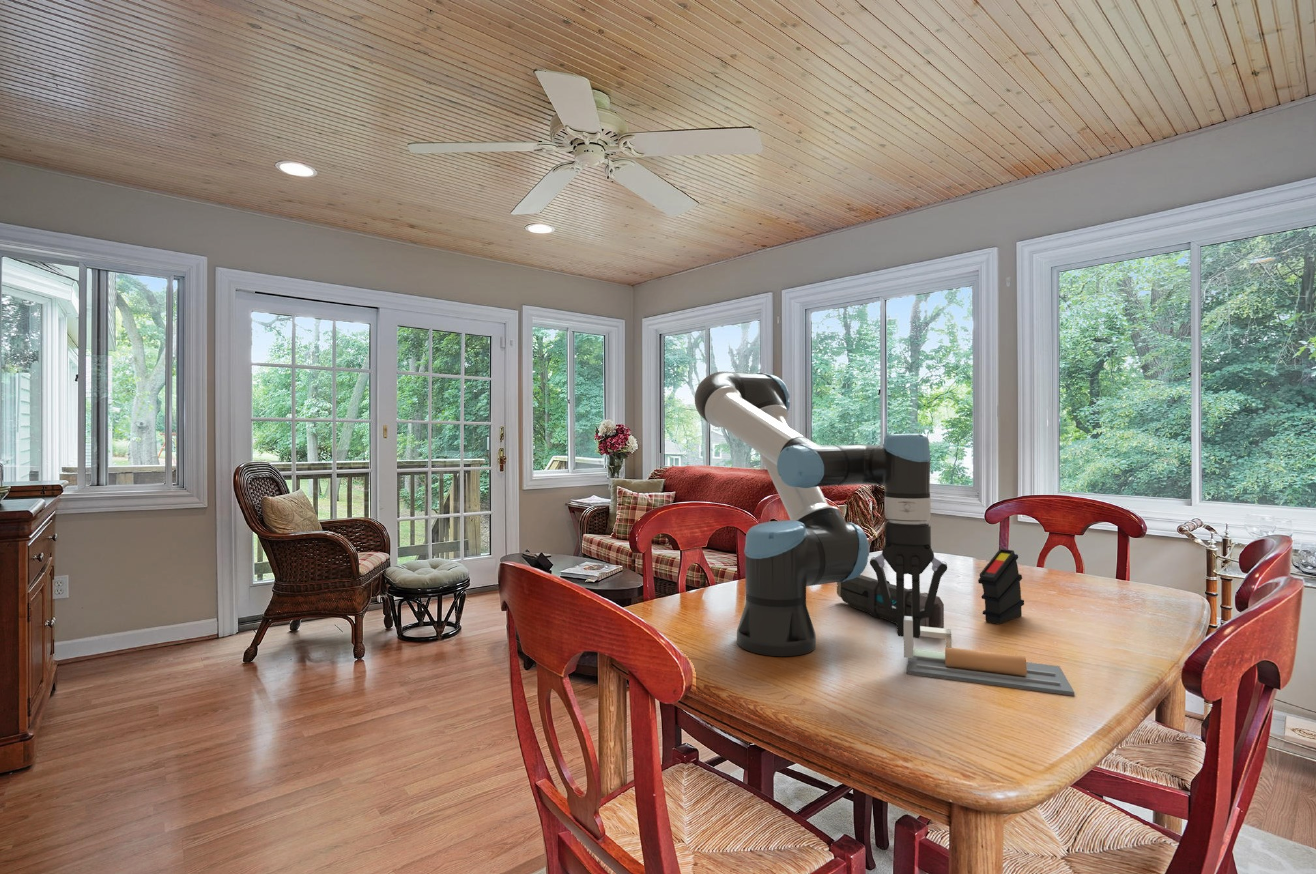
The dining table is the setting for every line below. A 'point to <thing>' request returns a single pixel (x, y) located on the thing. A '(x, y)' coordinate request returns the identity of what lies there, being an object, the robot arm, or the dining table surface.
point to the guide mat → (991, 674)
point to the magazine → (1001, 588)
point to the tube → (869, 599)
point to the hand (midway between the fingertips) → (908, 655)
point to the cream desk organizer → (936, 634)
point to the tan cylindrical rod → (986, 661)
